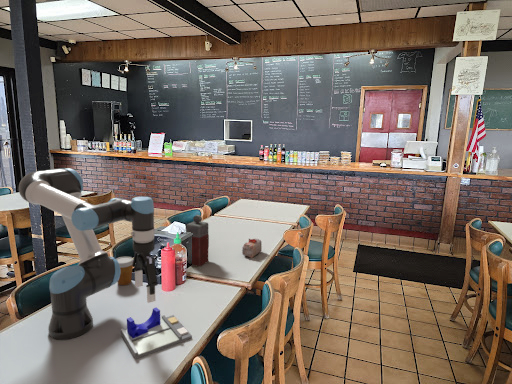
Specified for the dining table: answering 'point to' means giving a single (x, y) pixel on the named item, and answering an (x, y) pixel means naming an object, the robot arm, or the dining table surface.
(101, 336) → the dining table surface
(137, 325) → the cable clip
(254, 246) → the food item
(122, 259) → the disposable coffee cup
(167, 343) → the board
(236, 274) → the dining table surface
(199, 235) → the dark red bottle
